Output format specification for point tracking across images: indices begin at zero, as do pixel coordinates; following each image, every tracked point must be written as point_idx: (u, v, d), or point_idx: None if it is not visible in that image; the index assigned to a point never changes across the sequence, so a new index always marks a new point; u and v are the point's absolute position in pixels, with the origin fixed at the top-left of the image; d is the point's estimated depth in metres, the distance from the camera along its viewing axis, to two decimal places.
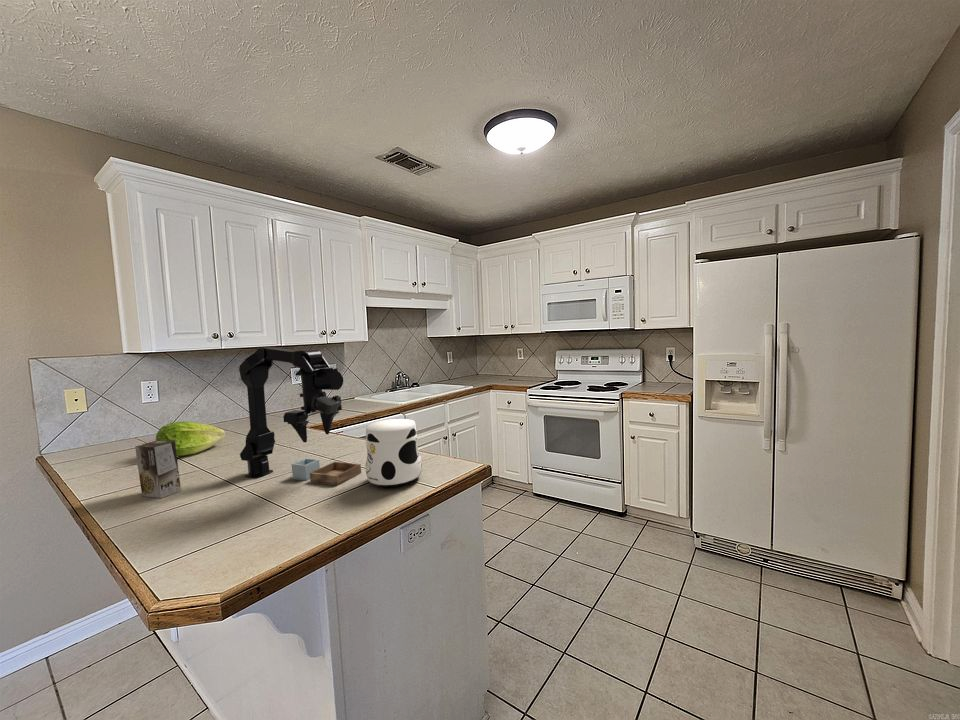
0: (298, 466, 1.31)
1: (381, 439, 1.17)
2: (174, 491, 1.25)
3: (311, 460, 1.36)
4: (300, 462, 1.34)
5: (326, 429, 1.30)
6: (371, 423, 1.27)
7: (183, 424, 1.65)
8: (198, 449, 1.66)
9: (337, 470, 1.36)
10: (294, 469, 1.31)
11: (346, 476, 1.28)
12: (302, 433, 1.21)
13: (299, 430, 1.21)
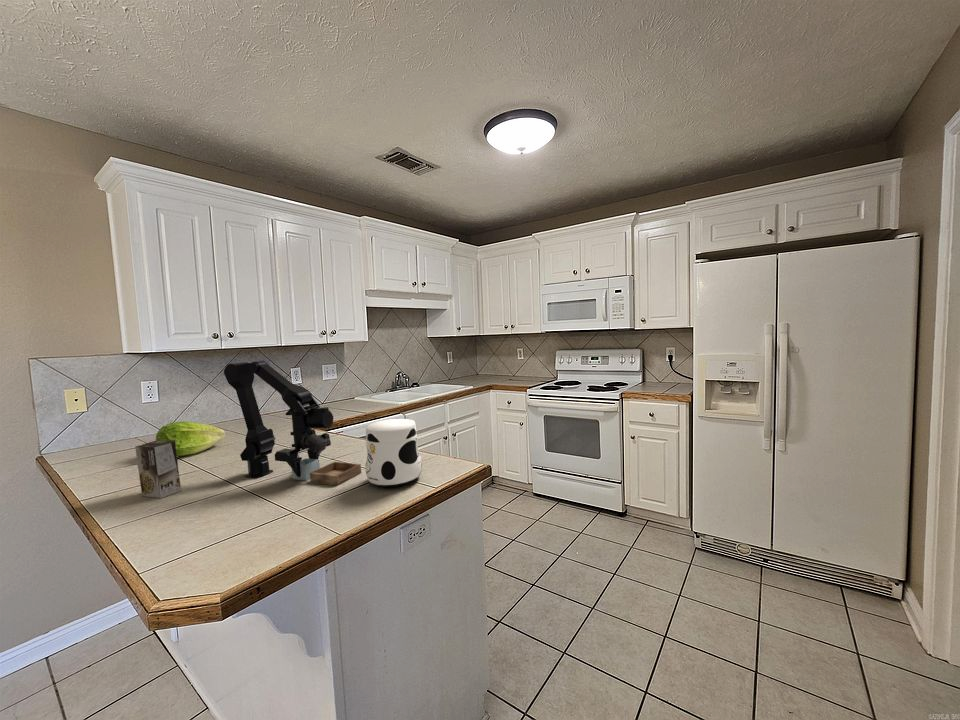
0: None
1: (381, 439, 1.17)
2: (174, 491, 1.25)
3: (311, 460, 1.36)
4: (300, 462, 1.34)
5: None
6: (371, 423, 1.27)
7: (183, 424, 1.65)
8: (198, 449, 1.66)
9: (337, 470, 1.36)
10: None
11: (346, 476, 1.28)
12: (296, 469, 1.29)
13: (293, 466, 1.30)
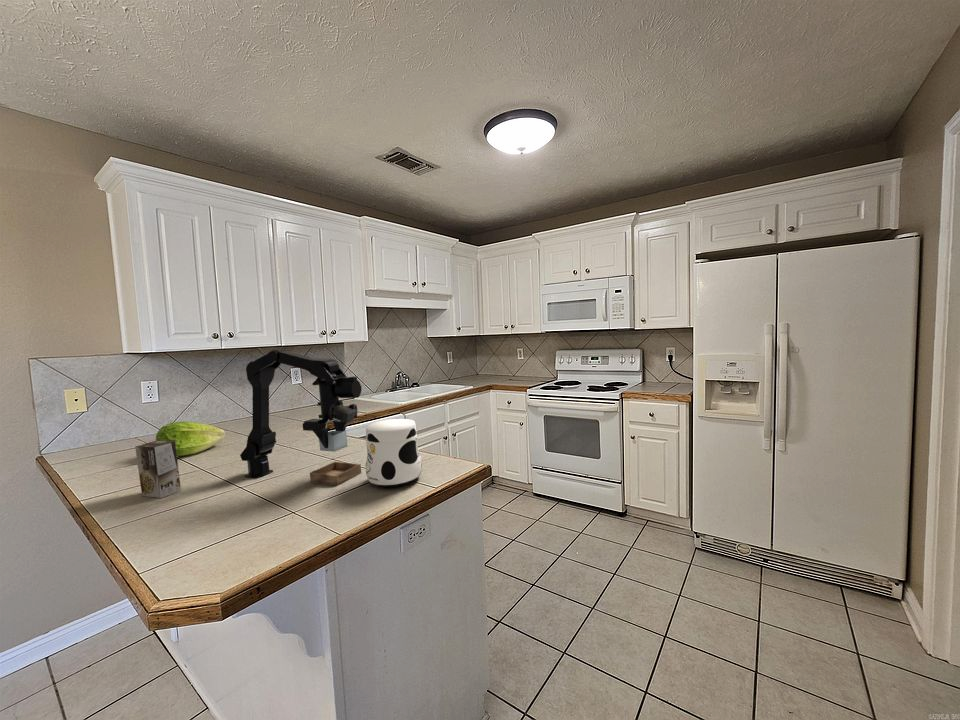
0: None
1: (381, 439, 1.17)
2: (174, 491, 1.25)
3: (338, 432, 1.32)
4: None
5: None
6: (371, 423, 1.27)
7: (183, 424, 1.65)
8: (198, 449, 1.66)
9: (337, 470, 1.36)
10: None
11: (346, 476, 1.28)
12: (324, 439, 1.26)
13: (321, 437, 1.26)
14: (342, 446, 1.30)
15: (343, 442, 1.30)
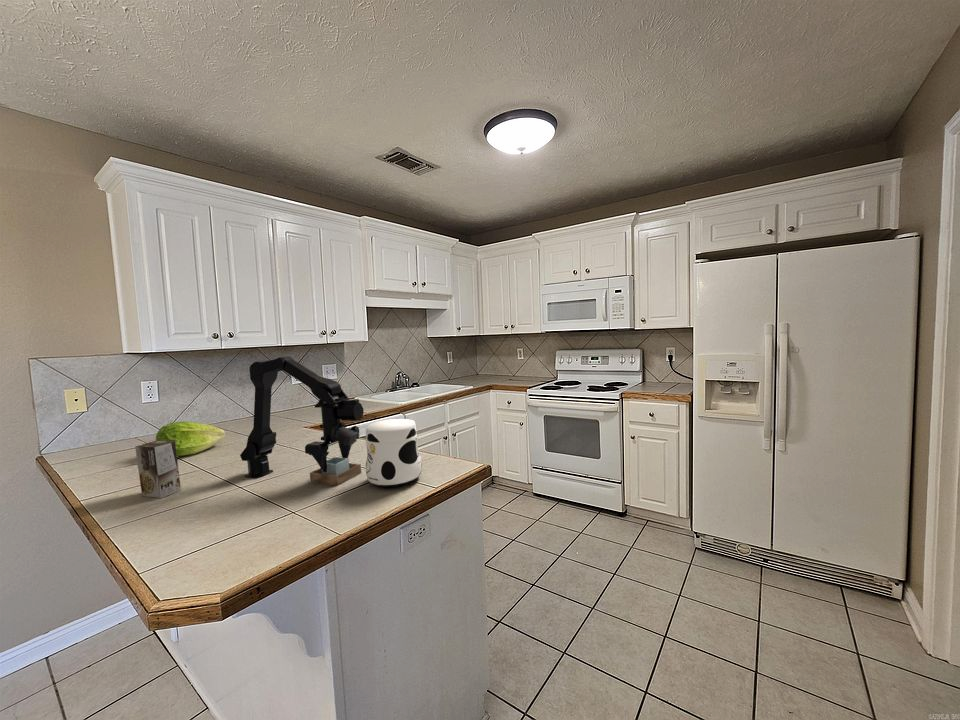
0: (328, 465, 1.28)
1: (381, 439, 1.17)
2: (174, 491, 1.25)
3: (340, 459, 1.33)
4: (329, 461, 1.32)
5: (345, 457, 1.35)
6: (371, 423, 1.27)
7: (183, 424, 1.65)
8: (198, 449, 1.66)
9: None
10: None
11: (346, 476, 1.28)
12: (322, 463, 1.25)
13: (319, 461, 1.26)
14: None
15: None
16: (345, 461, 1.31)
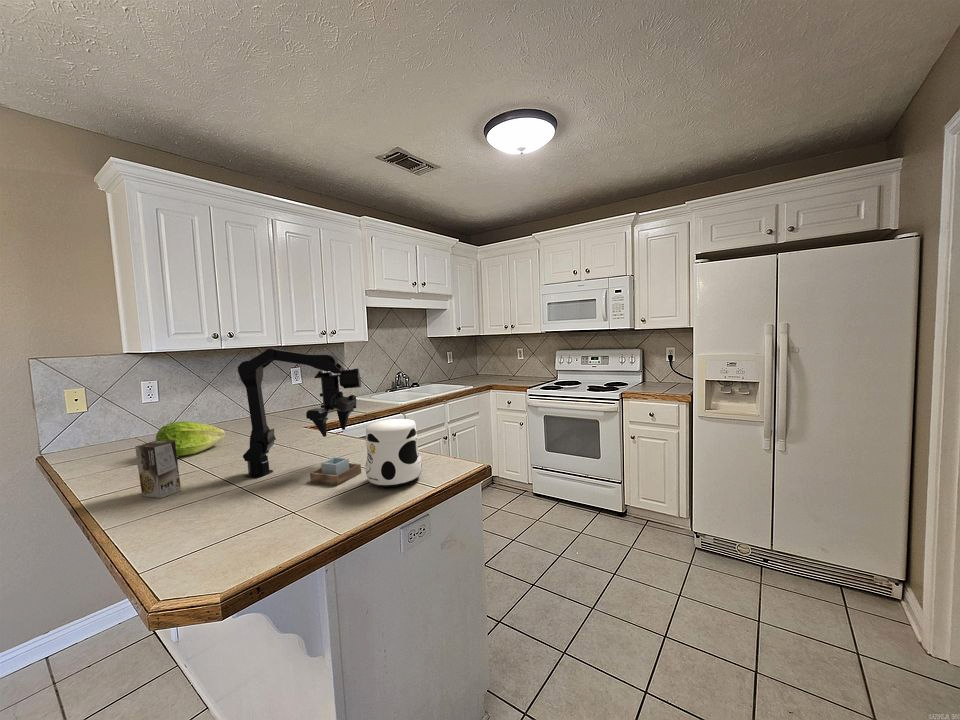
0: (328, 465, 1.28)
1: (381, 439, 1.17)
2: (174, 491, 1.25)
3: (340, 459, 1.33)
4: (329, 461, 1.32)
5: (343, 425, 1.45)
6: (371, 423, 1.27)
7: (183, 424, 1.65)
8: (198, 449, 1.66)
9: None
10: (324, 468, 1.29)
11: (346, 476, 1.28)
12: (322, 428, 1.36)
13: (320, 426, 1.36)
14: None
15: None
16: (345, 461, 1.31)
